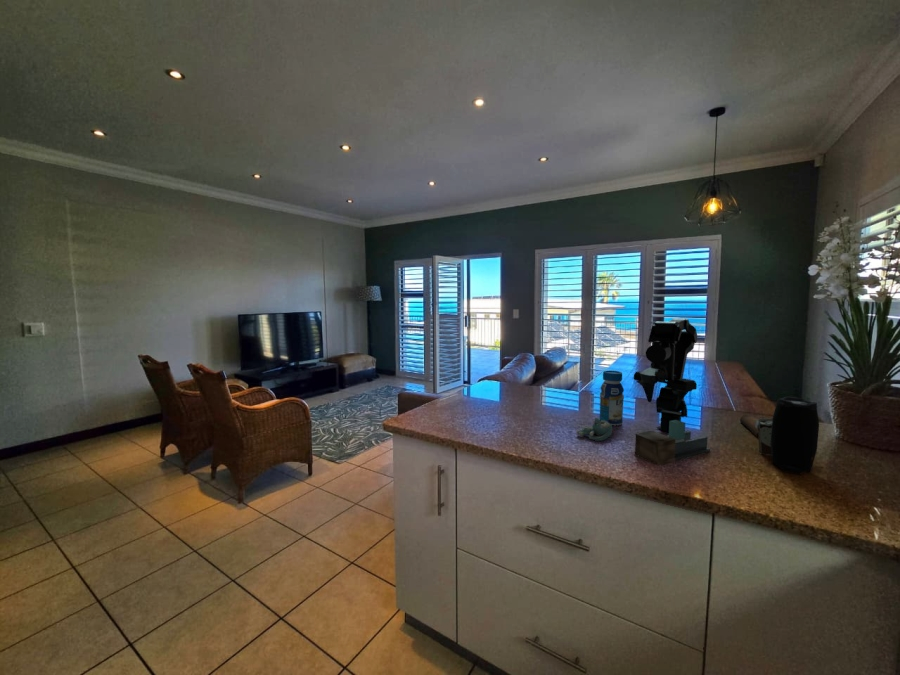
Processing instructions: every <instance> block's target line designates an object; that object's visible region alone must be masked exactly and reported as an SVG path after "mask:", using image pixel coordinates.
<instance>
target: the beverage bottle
mask: <svg viewBox="0 0 900 675" xmlns="http://www.w3.org/2000/svg"><path fill="white" fill-rule="evenodd" d="M602 379H603V382H602V384H601V386H600V393H599V400H600V401H599V420H605V421H607V422H608V423H610V424H611V426H612V425H614V426H616V425H617V426H621V425H622V424H623V422H624V421H623V415H624V399H625V396H624V391H625V389H624V387H623V385H622V383H621V382H622V381H623V372H622V371H619V370H603V372H602Z"/></svg>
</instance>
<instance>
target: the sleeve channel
mask: <svg viewBox="0 0 900 675" xmlns="http://www.w3.org/2000/svg"><path fill="white" fill-rule="evenodd" d="M691 434H692V431H690V430H687V431H686V430H685V439H684V441H682V442H677V443H675V461H674V462H677V461H680V460H681V459H682V460H684V459H688V458H689V459H690V458H693V457H696V456H701V455H703V454H709V453H711V448H708V436H705V435H704V436H700V437H695V438H692V439H691V437H692V436H691ZM666 436H668V437H669V434H666Z"/></svg>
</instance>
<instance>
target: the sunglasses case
mask: <svg viewBox="0 0 900 675" xmlns="http://www.w3.org/2000/svg"><path fill="white" fill-rule="evenodd" d="M739 419H740V420H739V422H740V423H741V425H744V426H745V427H746V428H747V429H748V430H749V431H751V433H753V434H754V435H755V436H756V438H758V439H759V437H758V429H757V428H756V427H755V425H756V423H757V421H758V420H759V419H760V418H758V417H755V416H751V415H748V414H747V415H746V414H745V415H743V416H741V417H740V418H739Z"/></svg>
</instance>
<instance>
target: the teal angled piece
mask: <svg viewBox="0 0 900 675" xmlns="http://www.w3.org/2000/svg"><path fill="white" fill-rule="evenodd" d="M685 431H686V422H685V421H682V420H681V421H678V420H673V421H669V432H668V435H669V437H671V438H674V439H676V440H675V443H677V442H682V441H684V439H685Z"/></svg>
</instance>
